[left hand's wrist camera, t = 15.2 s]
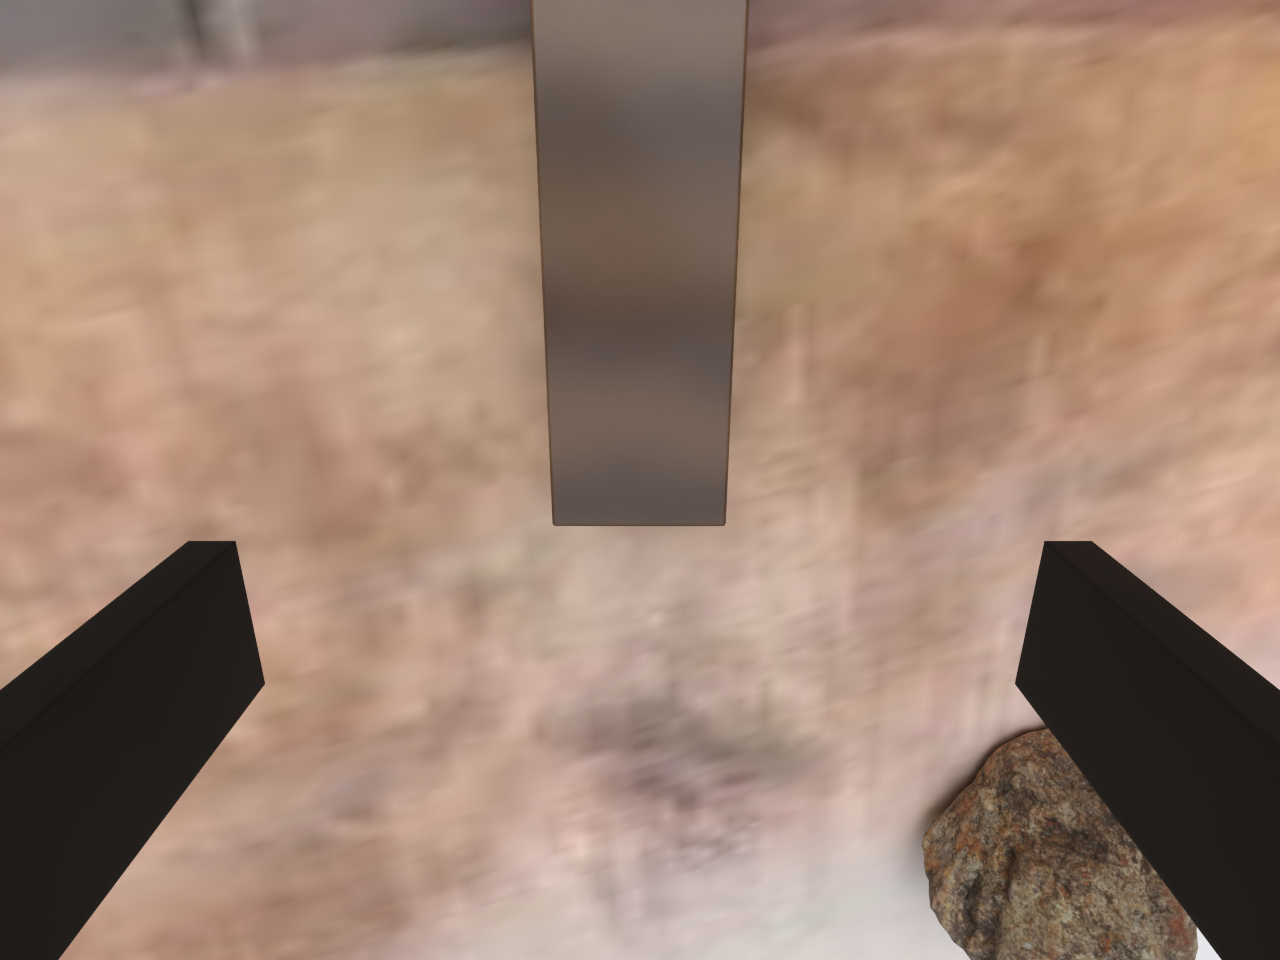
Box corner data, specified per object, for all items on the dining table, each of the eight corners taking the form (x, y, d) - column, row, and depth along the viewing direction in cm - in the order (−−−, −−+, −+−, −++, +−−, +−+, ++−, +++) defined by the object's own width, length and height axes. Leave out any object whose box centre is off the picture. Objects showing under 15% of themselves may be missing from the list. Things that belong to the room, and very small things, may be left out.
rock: (1147, 869, 42) (1220, 719, 38) (1283, 1033, 34) (1390, 863, 30) (894, 862, 40) (945, 704, 37) (973, 1033, 32) (1048, 853, 29)
